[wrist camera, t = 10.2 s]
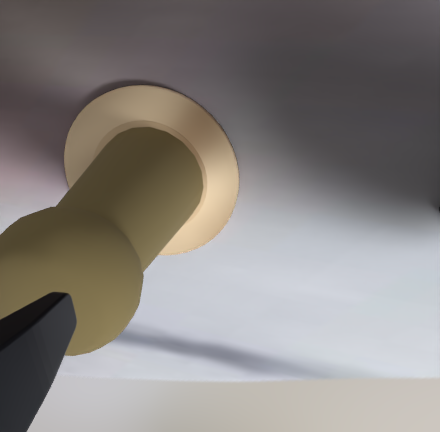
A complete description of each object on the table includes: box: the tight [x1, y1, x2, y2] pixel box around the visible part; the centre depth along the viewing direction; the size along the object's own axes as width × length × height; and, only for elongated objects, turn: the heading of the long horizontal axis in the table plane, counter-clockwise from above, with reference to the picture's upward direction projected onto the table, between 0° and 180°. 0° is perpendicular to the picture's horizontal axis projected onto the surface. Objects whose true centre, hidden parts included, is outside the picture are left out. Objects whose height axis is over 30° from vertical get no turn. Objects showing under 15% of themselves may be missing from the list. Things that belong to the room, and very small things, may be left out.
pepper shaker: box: [0, 127, 204, 356], centre depth 17 cm, size 6×6×11 cm
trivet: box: [64, 85, 239, 255], centre depth 22 cm, size 10×10×1 cm
